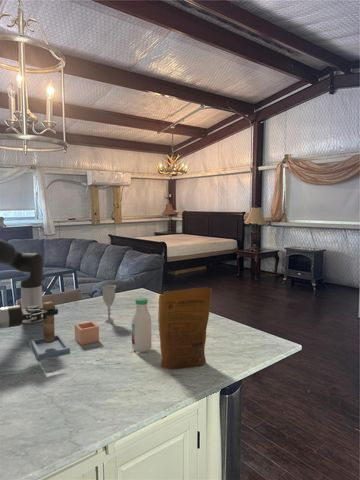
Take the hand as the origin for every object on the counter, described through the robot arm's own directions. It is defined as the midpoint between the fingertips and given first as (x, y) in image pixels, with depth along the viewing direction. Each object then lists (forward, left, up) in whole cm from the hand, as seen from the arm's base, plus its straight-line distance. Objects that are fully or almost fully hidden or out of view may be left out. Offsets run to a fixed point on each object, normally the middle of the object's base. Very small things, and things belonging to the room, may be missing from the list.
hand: (56, 309), depth 127 cm
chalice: (-16, +28, -16) cm, 36 cm away
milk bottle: (+18, +28, -16) cm, 37 cm away
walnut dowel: (0, -3, -12) cm, 12 cm away
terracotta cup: (0, +12, -16) cm, 20 cm away
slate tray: (0, -3, -16) cm, 16 cm away
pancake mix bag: (+39, +34, -16) cm, 54 cm away
